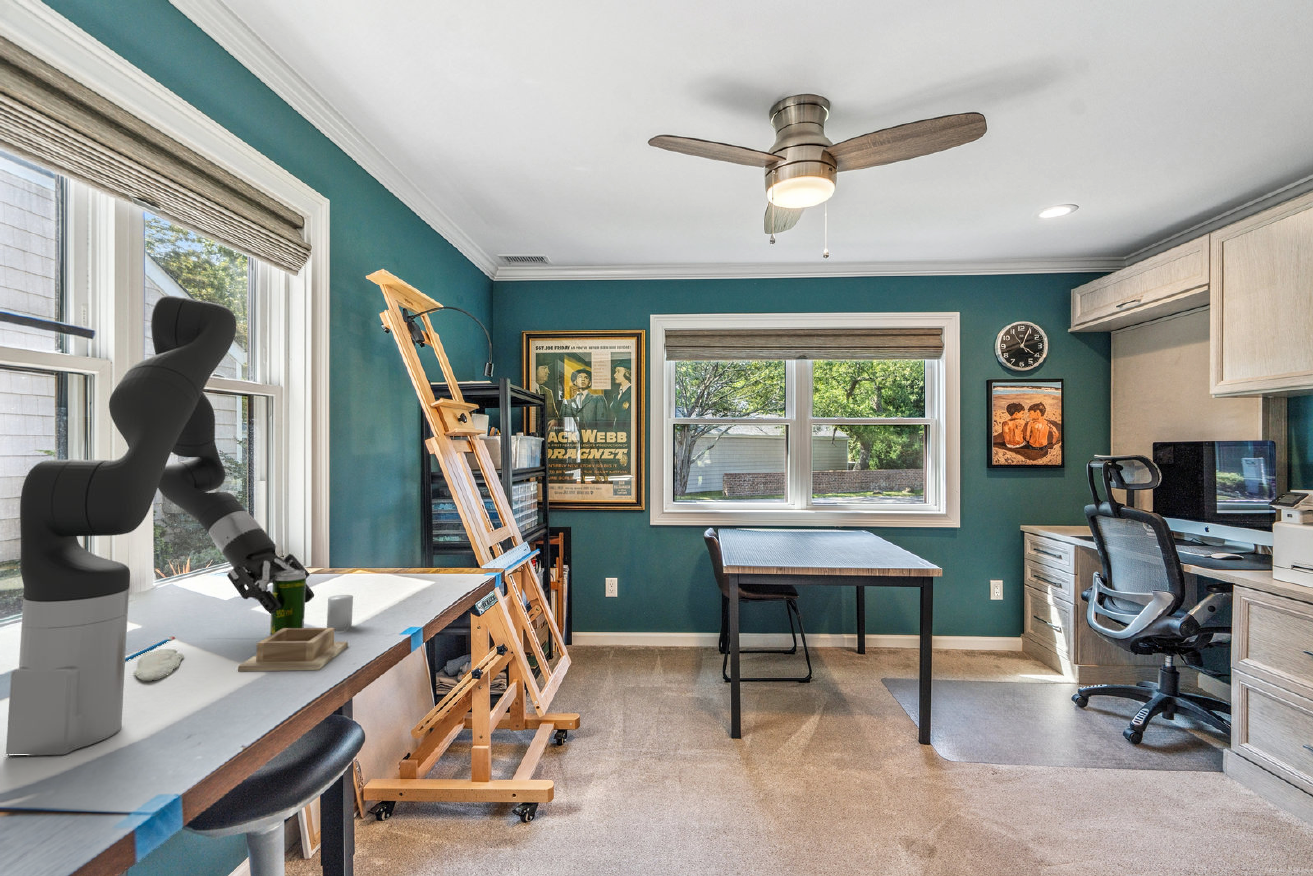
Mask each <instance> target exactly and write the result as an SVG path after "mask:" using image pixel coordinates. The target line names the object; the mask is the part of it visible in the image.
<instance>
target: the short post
mask: <svg viewBox="0 0 1313 876" xmlns="http://www.w3.org/2000/svg"><path fill="white" fill-rule="evenodd" d="M353 605H354V596H353V595H352V594H338V595H337V594H336V595H331V596H329V597H327V615H326V617H327V618H326V628H334V632H336V631H337V632H338V631H345V630H344V629H346V630H348V629H347V628H349V629H351V628H352V625H353ZM350 627H351V628H350Z"/></svg>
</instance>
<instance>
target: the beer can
mask: <svg viewBox="0 0 1313 876" xmlns="http://www.w3.org/2000/svg"><path fill="white" fill-rule="evenodd" d="M306 584H307V578H306V575H305V571H303V570H287V571H280V572H276V573H275V577H274V578H273V583H272V591H271V593H272V594H273V595H274V597H275V598H276V599H277V600H278V602H279V603H280V604H281V607H280V608H279V609H278V610H277V611H276V612H275V613H273V614H270V632H269V636H270V635H272V634H274V633H276V632H277V631H279V630H281V629H282V628H305V610H306V603H305V593H306Z"/></svg>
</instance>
